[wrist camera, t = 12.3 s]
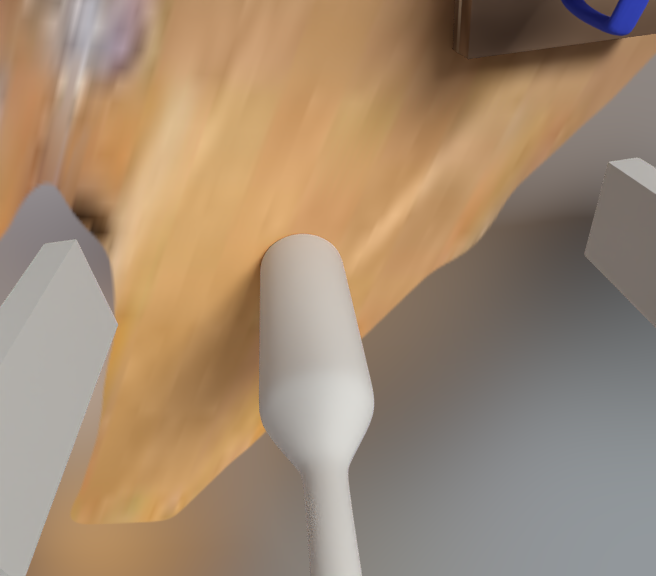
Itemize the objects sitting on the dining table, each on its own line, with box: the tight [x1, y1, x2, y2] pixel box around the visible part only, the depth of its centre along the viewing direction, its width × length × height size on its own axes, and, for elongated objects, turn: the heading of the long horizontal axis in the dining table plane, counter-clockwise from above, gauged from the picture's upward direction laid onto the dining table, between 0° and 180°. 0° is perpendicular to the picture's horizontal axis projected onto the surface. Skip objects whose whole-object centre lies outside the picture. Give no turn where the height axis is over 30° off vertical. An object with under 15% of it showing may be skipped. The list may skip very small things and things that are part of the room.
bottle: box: [259, 234, 374, 576], centre depth 35 cm, size 8×8×30 cm
